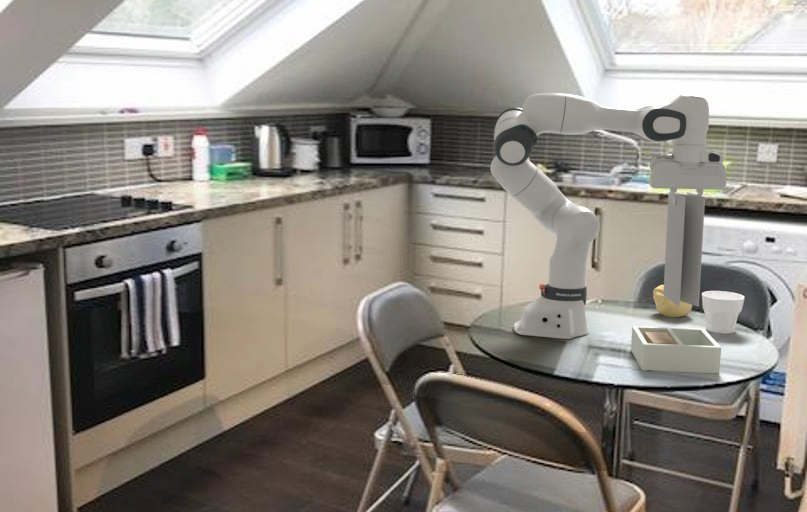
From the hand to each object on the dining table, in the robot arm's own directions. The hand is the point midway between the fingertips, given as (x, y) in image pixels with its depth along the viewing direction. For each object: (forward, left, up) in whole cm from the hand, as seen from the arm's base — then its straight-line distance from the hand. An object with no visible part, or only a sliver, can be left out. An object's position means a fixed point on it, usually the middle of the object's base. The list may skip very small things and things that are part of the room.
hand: (685, 205), depth 239 cm
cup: (+18, +22, -41) cm, 50 cm away
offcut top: (-7, -13, -38) cm, 41 cm away
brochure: (+1, 0, -27) cm, 27 cm away
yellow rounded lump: (+7, +39, -41) cm, 57 cm away
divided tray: (-3, -13, -41) cm, 43 cm away
